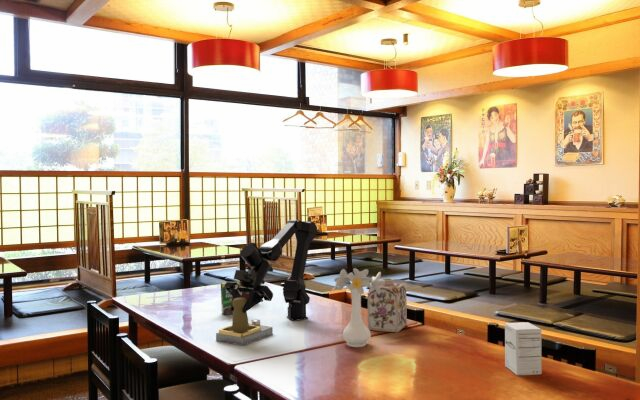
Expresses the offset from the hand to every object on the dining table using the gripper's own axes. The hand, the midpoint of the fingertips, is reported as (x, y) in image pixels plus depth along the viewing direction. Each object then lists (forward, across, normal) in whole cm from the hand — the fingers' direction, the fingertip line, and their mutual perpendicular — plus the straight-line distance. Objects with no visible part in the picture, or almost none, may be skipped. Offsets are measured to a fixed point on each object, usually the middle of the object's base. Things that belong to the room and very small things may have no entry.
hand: (237, 311), depth 181 cm
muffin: (-25, -38, +40) cm, 60 cm away
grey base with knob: (+4, 0, +9) cm, 10 cm away
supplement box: (-5, +90, +20) cm, 92 cm away
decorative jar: (-21, +37, +36) cm, 56 cm away
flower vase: (-4, +38, +19) cm, 42 cm away
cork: (+4, 0, +6) cm, 7 cm away
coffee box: (-12, -29, +27) cm, 41 cm away
